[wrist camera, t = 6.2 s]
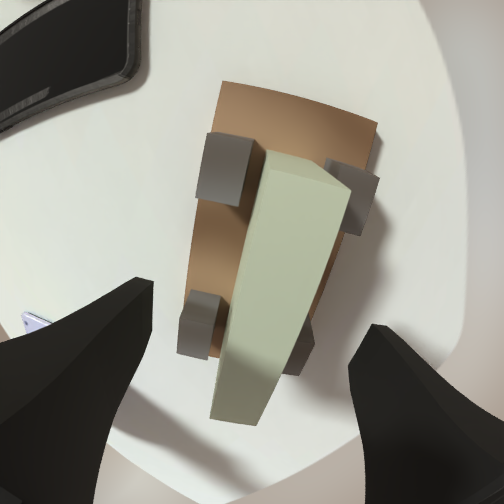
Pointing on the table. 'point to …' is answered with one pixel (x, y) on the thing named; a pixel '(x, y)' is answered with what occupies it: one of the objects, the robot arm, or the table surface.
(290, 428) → the table surface
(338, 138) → the rail
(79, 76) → the phone
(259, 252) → the door panel
